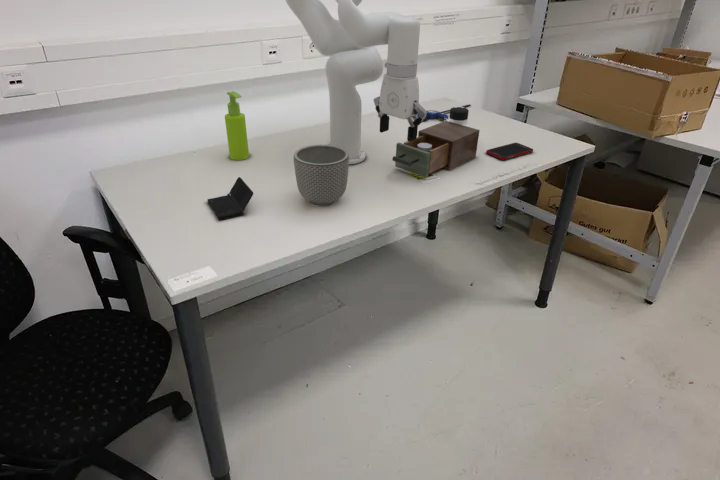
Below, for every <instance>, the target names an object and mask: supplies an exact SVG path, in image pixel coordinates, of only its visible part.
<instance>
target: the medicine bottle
mask: <svg viewBox="0 0 720 480" xmlns="http://www.w3.org/2000/svg"><path fill="white" fill-rule="evenodd" d="M449 110H450V111H449V115H448V119H447V118H445V121H449V122H453V123H456V124H460V125H463V126H467V127H471V125H470V124H469V122H468V118H469V113H470V112H469V109H468V107H467V108H466V107H462V106H452V107H451V108H450V109H449Z"/></svg>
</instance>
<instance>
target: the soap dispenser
mask: <svg viewBox="0 0 720 480" xmlns="http://www.w3.org/2000/svg"><path fill="white" fill-rule="evenodd" d="M226 95H228V96H229V102H228V103H227V111H228V113H226V114H225V115H224V122H225V123H224V124H225V130H226V138H227V145H228V154H229V158H230V160H233V161H242V160H243V161H244V160H247V159H248V158H249V157H250V151H249V144H248V143H249V141H248V132H247V123H246V115H245V113H243V112H241V109H240V107H241V106H240V103H239V102H238V101H237V99H240V98H242V95H241V94H240V93H238V92H236V91H227V92H226Z"/></svg>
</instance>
